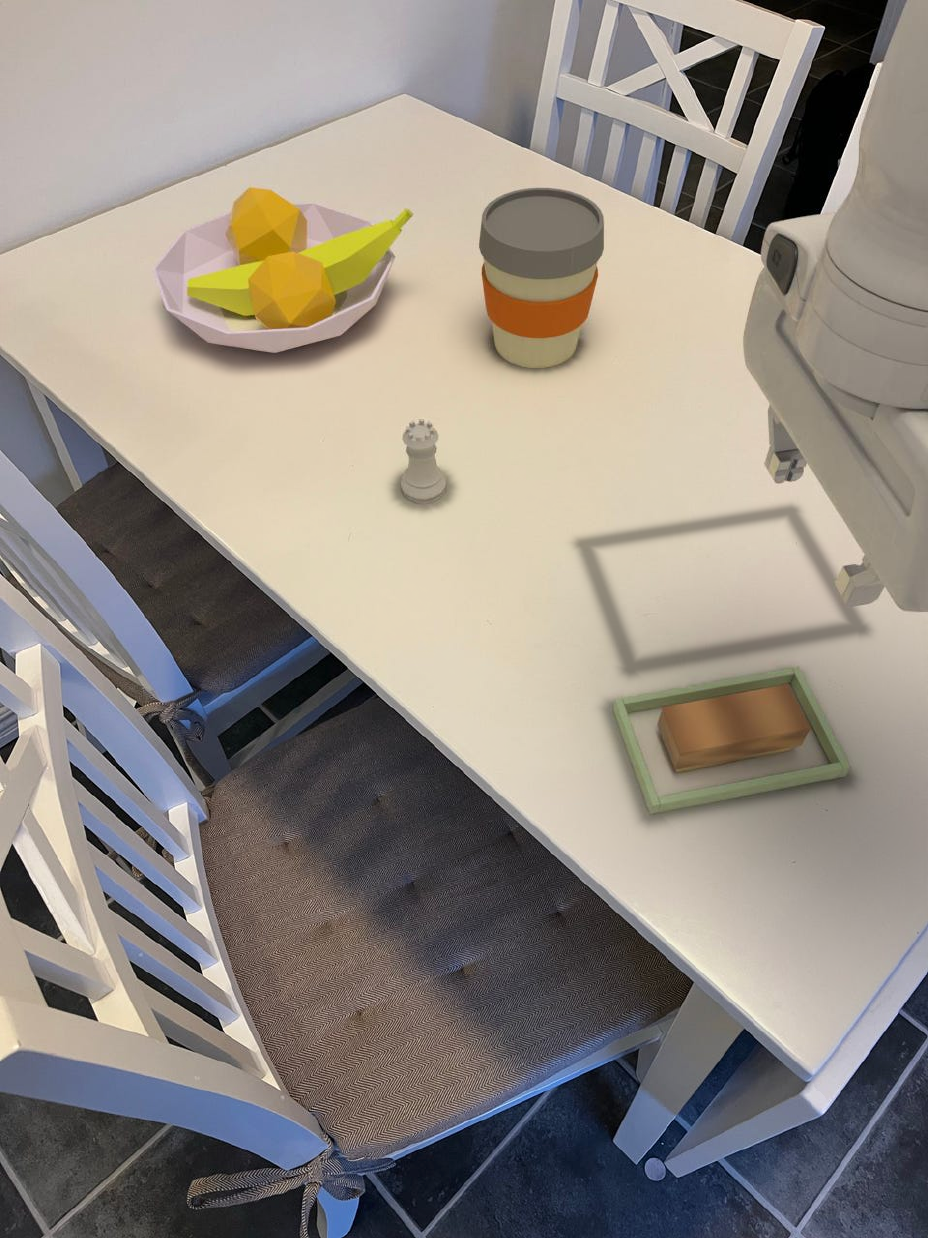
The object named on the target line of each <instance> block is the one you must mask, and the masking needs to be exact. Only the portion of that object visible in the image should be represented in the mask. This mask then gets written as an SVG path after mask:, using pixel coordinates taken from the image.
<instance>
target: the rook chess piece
mask: <svg viewBox="0 0 928 1238" xmlns="http://www.w3.org/2000/svg"><path fill="white" fill-rule="evenodd" d="M408 424H409V425H406V426H405V431H404V432H403V434H402V440H403V443H404V445H406V448H405V453H406V455H407V456H408V464H407V468H405V471H404V473H403V475H402V477H401V481H400V487H401V490H402V493H403V496H404V498H406V499H407V500H409V501H411V502H413V503H416V504H424V505H426V504H430V503H435V502H436V501H437V500H439V499H441V498H442V497H443V495H444V494H445V492H446V484H447V479H446V478H445V475H444V473H443V471H442V470H441V469H440V467H439V466H438V464H437V459H436V455H435V454H436V453H437V450H438V447H437V446H436V443H437V442H438V441H439V435H440V434H439V433H438V431H437V430H436V429H435V427H434V426H433V423H432V422H431V421H429V420H428V421H427V422H426V423H425V419H422V418H421V419H420V418H419V419H418V422H417V423H416V422H415V421H414V420H411V421H409V422H408Z"/></svg>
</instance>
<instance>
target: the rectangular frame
mask: <svg viewBox="0 0 928 1238" xmlns="http://www.w3.org/2000/svg"><path fill="white" fill-rule="evenodd" d="M785 684H789V685H790V687H791V689H792V691H793V693H794V695H795V697H796V699H797V701H799V702H798V703H800V704H799V705H801V706H800V707H801V709H802V711H803V713H804V714H805V716H806V718H807V720H808V722H809V724H810V726H811V728H812V729H813V731H814V734H815V736H816V737H817V740H818V741H819V743H820V745H821V748H822V749H823V752H824V753H825V755H826V757H827V760H828V761H829V764H823V765H818V766H814V767H809V768H808V767H807V768H803V769H799V770H793V771H792V770H791V771H788V772H781V773H777V774H772V775H766V776H762V777H757V778H751V779H746V780H741V781H735V782H731V783H726V784H721V785H715V786H710V787H705V788H699V789H694V790H690V791H684V792H678V793H672V794H668V795H663V796H659V795H658V794H657V791H656V788H655V785H654V783H653V780H652V777H651V775H650V772H649V769H648V766H647V763H646V760H645V757H644V755H643V753H642V749H641V747H640V745H639V744H640V743H639V741H638V738H637V736H636V733H635V730H634V727H633V725H632V721H631V719H630V716H629V715H628V713H633V712H639V711H644V710H649V709H656V708H662V707H667V706H672V705H678V704H683V703H688V702H694V701H699V700H705V699H710V698H715V697H721V696H726V695H731V694H737V693H742V692H748V691H753V690H758V689H764V688H769V687H774V686H780V685H785ZM613 702H614V703H613V707H612V711H613V713H614V717H615V719H616V722H617V725H618V728H619V730H620V734H621V736H622V739H623V742H624V745H625V748H626V750H627V754H628V756H629V759H630V761H631V764H632V767H633V770H634V774H635V777H636V779H637V782H638V785H639V788H640V790H641V794H642V796H643V799H644V802H645V805H646V807H647V810H648V813H649V815H653V814H657V813H663V812H669V811H674V810H679V809H685V808H688V807H695V806H699V805H700V806H701V805H705V804H710V803H715V802H720V801H725V800H731V799H735V798H736V799H737V798H740V797H745V796H746V797H747V796H751V795H757V794H761V793H766V792H771V791H776V790H781V789H788V788H793V787H798V786H803V785H807V784H808V785H809V784H812V783H817V782H824V781H828V780H833V779H837V778H838V779H839V778H844V777H846V775H847V774H848V773H849V771H850V770H851V769H852V767H851V765H850V762H849V761H848V759H847V757H846V755H845V753H844V751H843V749H842V747H841V745H840V743H839V741H838V740H837V738H836V735H835V734H834V732H833V730H832V728H831V726H830V724H829V722H828V720H827V718H826V716H825V715H824V713H823V710H822V709H821V707H820V704H819V703H818V701H817V699H816V697H815V695H814V693H813V692H812V689H811V687H810V685H809V683H808V682H807V680H806V678H805V676H804V674H803V672H802V670H801V668H800V667H799V666H795V667H789V668H783V669H778V670H773V671H768V672H761V673H756V674H749V675H744V676H740V677H734V678H728V679H723V680H717V681H711V682H706V683H705V682H704V683H700V684H694V685H688V686H684V687H678V688H677V687H676V688H673V689H667V690H661V691H655V692H650V693H645V694H639V695H633V696H632V695H631V696H627V697H622V698H616V699H615V700H614V701H613Z"/></svg>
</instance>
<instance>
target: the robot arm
mask: <svg viewBox="0 0 928 1238" xmlns="http://www.w3.org/2000/svg"><path fill="white" fill-rule="evenodd" d="M761 244H762V245H761V250H760V260H761V263H762V265H763V268H762V269H761V270H760V272H759V274H758V276H757V278H756V282H755V285H754V288H753V292H752V296H751V300H750V303H749V308H748V312H747V316H746V321H745V326H744V329H743V337H742V350H743V357H744V364H745V367H746V370H747V371H748V372H749V374H750V375H751V376H752V378H753V380H754V382H755V383H756V385H757V386H758V388H759V389H760V391H761V392H762V394H763V396H764V397H765V399H766V400H767V402H768V403H769V405H768V408H767V421H768V424H767V425H768V445H769V448H768V451H767V454H766V457H765V460H764V463H763V465H764V467H765V469H766V470H767V472H768V473H769V475H770V476H771V478H772V480H773V481H774V483H775V484H784V483H785V482H789V483H791V482H796V481H798V480H800V479H801V478H802V477H803V475H804V473H805V468H806V467H807V465H808V467H809V469H810V470H811V472H812V473H813V475H814V477H815V479H816V480H817V481H818V483H819V484H820V486H821V488H822V489H823V491H824V493H825V494H826V495H827V497H828V499H829V500H830V502H831V503H832V505H833V507H834V508H835V510H836V511H837V513H838V515H839V516H840V518H841V520H842V521H843V523H844V524H845V526H846V527H847V529H848V530H849V532H850V534H851V535H852V537H853V538H854V541H856V543H857V545H858V546H859V548H860V549H861V552H862V553H863V556H862V559H861V560H862V563H861V564H856V563H852V564H846V565H842V567H841V568H840V571H839V573H838V578H837V579H835V581H834V585H835V588H836V589H837V591H838V592H839V595H840V596H841V598H842V601H843V602H844V603H845V605H846V607H849V608H853V607H859V606H867V605H870V604H872V603H874V602H875V601H877V600H879V597H880V596H881V594H882V592H883V590H884V589H885V590H886V591H887V593H888V594H889V596H890V597H891V599H892V601H893V602H894V604H895V605H896V607H898V608H899V609H900V610H902V611H903V612H907V613H928V0H906V2H905V3H904V6H903V8H902V12H901V13H900V16H899V19H898V22H897V23H896V26H895V29H894V32H893V35H892V37H891V40H890V42H889V45H888V48H887V50H886V52H885V55H884V58H883V61H882V63H881V66H880V70H879V72H878V75H877V78H876V81H875V83H874V87H873V90H872V93H871V96H870V99H869V101H868V105H867V108H866V112H865V114H864V117H863V121H862V124H861V127H860V133H859V139H858V164H857V169H856V174H855V177H854V180H853V184H852V186H851V188H850V190H849V192H848V193H847V195H846V197H845V198H844V200H843V201H842V202H841V205H840V206H839V208H838V209H837V210H836V212H826V213H820V214H812V215H806V216H800V217H795V218H789V219H784V220H783V219H782V220H779V221H774V222H771V223H770V224H768V225H767V227H766V230H765V232H764V236H763V238H762V243H761Z"/></svg>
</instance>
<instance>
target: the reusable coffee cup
mask: <svg viewBox="0 0 928 1238" xmlns="http://www.w3.org/2000/svg"><path fill="white" fill-rule="evenodd" d="M604 218H605V217H604V214H603V212H602V209H600V208H599V206H598V205H597V204H596V203H595V202H594V201H592V200H591V199H590V198H587V197H586V196H583V195H582V194H579V193H576V192H574V191H570V190H566V189H562V188H553V187H528V188H522V189H517V190H513V191H510V192H506V193H503V194H502V195H499V196H497V197H496V198H495V199H493V200H492V201H490V202H489V203H488V204H487V205H486V206H485V208H484V210H483V212H482V215H481V222H480V223H481V224H480V232H479V240H478V241H479V242H478V249H479V252H480V254H481V256H482V258H483V264H482V265H481V280H482V286H483V288H482V289H483V294H484V303H485V310H486V313H487V316H488V318H489V320H490V321H491V326H492V335H493V341H494V346H495V349H496V351H497V353H498V355H500V357H502V359H504V360H505V361H507V362H508V363H511V364H512V365H515V366H519V367H522V368H528V369H546V368H551V367H556V366H558V365H561V364H563V363H564V362H566V361H568V360H570V358H571V357H572V356H573V355H574V354H575V352H576V349H577V345H578V342H579V337H580V335H581V330H582V326H583V324H584V323H585V322H586V320H587V318H588V317H589V313H590V310H591V306H592V302H593V298H594V294H595V289H596V286H597V281H598V278H599V268H598V266H597V265H598V262H599V260H600V259H601V257H602V256H603V253H604V249H605V219H604Z"/></svg>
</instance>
